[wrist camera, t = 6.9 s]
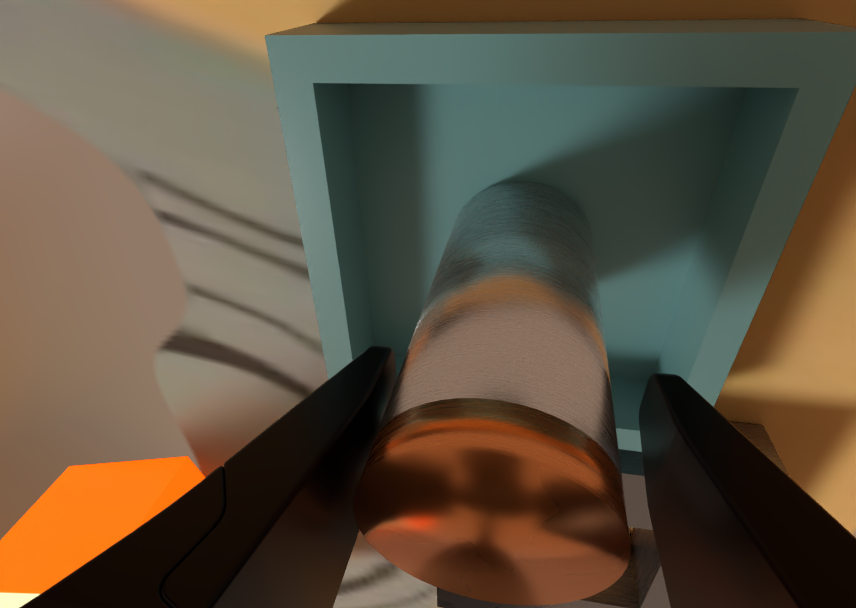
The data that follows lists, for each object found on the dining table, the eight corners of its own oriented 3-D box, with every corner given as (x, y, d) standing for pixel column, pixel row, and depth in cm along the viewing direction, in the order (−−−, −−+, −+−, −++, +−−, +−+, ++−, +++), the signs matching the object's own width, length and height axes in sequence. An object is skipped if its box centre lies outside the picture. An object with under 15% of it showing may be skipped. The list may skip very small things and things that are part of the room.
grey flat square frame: (677, 584, 21) (693, 651, 19) (446, 548, 22) (437, 606, 20) (763, 425, 15) (799, 495, 13) (446, 391, 17) (434, 449, 15)
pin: (580, 310, 13) (601, 626, 7) (450, 297, 14) (366, 575, 8) (605, 185, 11) (664, 480, 5) (450, 176, 12) (335, 429, 6)
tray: (669, 391, 15) (691, 457, 13) (358, 360, 17) (335, 415, 15) (803, 18, 9) (879, 31, 7) (313, 23, 11) (264, 35, 9)
